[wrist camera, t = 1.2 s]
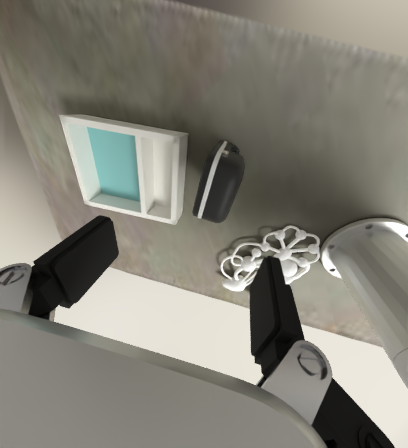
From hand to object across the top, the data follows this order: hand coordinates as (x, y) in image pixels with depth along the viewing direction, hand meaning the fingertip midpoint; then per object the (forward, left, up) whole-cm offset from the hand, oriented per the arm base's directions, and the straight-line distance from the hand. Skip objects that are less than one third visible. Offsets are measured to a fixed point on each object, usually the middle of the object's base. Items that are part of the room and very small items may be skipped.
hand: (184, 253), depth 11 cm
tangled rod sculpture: (-12, +17, -19) cm, 28 cm away
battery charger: (-1, -1, -19) cm, 19 cm away
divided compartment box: (+13, +2, -19) cm, 23 cm away
